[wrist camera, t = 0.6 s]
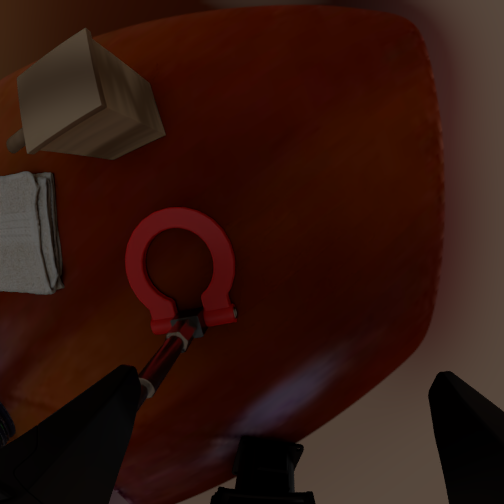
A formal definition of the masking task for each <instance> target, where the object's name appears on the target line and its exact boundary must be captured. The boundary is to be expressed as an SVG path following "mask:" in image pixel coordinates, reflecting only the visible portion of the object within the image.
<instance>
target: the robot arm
mask: <svg viewBox="0 0 504 504" xmlns="http://www.w3.org/2000/svg"><path fill="white" fill-rule="evenodd" d="M140 394H141V383H140V380H139V377H138V373H137V370H136V368H135V367H134V366H130V365H120V366H119V367H117V368H116V369H115V370H113V371H112V372H110V373H109V374H108V375H106V376H105V377H103V378H102V379H101V380H99V381H98V382H97V383H95V384H94V385H92V386H91V387H90V388H88V389H87V390H85V391H84V392H83V393H81V394H80V395H78V396H77V397H76V398H74V399H73V400H71V401H70V402H69V403H67V404H66V405H64V406H63V407H62V408H60V409H59V410H57V411H56V412H55V413H53V414H52V415H50V416H49V417H48V418H46V419H45V420H43V421H42V422H41V423H39V424H38V426H37V425H36V426H35V427H33V428H32V429H30V430H29V431H28V432H26V433H25V434H23V435H22V436H20V437H19V438H17V439H15V440H14V441H12V442H10V443H8V444H7V445H5V446H3V447H1V448H0V504H109V501H110V497H111V494H112V491H113V488H114V485H115V482H116V479H117V476H118V473H119V470H120V467H121V464H122V461H123V458H124V455H125V452H126V449H127V446H128V443H129V440H130V437H131V434H132V430H133V426H134V421H135V416H136V412H137V407H138V403H139V399H140ZM428 398H429V403H430V409H431V415H432V422H433V429H434V435H435V439H436V444H437V448H438V452H439V457H440V461H441V465H442V470H443V474H444V479H445V484H446V489H447V495H448V500H449V504H504V412H503V411H502V410H501V409H500V408H498V407H497V406H496V405H494V404H493V403H492V402H491V401H489V400H488V399H487V398H485V397H484V396H483V395H481V394H480V393H479V392H477V391H476V390H475V389H474V388H472V387H471V386H469V385H468V384H467V383H466V382H464V381H463V380H462V379H460V378H459V377H458V376H456V375H455V374H454V373H452V372H451V371H445V372H439V373H438V374H437V376H436V378H435V380H434V382H433V384H432V386H431V388H430V390H429V394H428ZM298 448H300V449H298ZM303 448H304V447H303V445H301V444H294V443H285V442H278V441H271V440H264V439H258V438H252V437H246V436H244V437H241V439H240V443H239V446H238V450H237V454H236V458H235V461H234V465H233V469H232V474H233V475H237V478H236V485H235V489H229V488H224V487H219V488H218V491H217V492H215V495H213V496H212V498H211V503H210V504H315V500H314V496H313V492H312V491H311V492H310V491H307V492H295V490H294V470H295V468H296V465H297V463H298V461H299V459H300V457H301V455H302V452H303V450H304V449H303Z"/></svg>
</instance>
